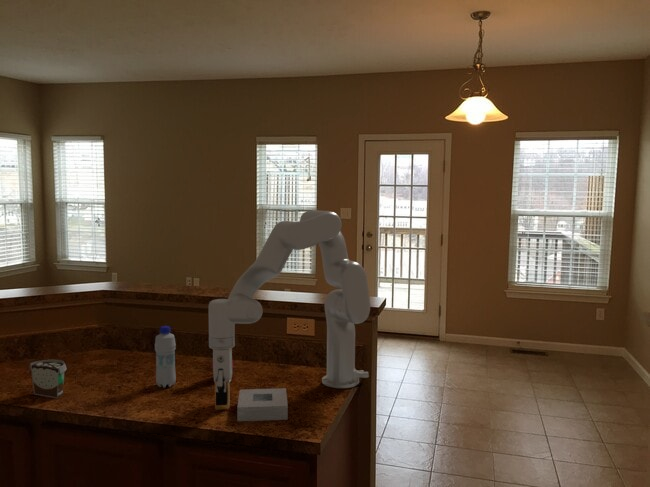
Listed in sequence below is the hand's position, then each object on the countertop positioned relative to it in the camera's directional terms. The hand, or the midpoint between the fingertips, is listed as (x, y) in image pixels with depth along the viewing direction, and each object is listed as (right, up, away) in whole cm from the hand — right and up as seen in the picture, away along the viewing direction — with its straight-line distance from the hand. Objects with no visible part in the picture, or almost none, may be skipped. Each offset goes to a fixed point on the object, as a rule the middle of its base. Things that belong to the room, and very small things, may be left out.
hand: (222, 400), depth 162 cm
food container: (-55, -1, +10) cm, 56 cm away
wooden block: (0, -2, 0) cm, 2 cm away
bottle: (-22, 0, +18) cm, 28 cm away
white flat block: (+12, -2, -3) cm, 13 cm away
